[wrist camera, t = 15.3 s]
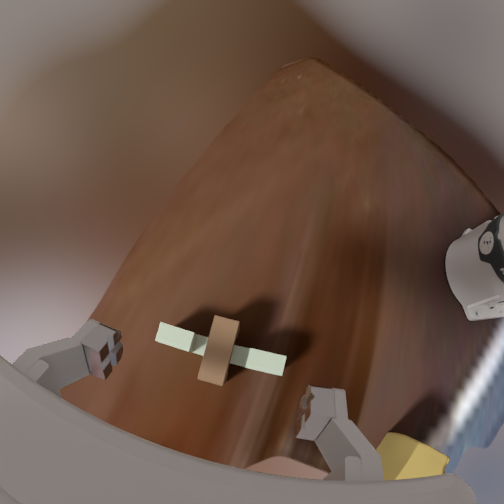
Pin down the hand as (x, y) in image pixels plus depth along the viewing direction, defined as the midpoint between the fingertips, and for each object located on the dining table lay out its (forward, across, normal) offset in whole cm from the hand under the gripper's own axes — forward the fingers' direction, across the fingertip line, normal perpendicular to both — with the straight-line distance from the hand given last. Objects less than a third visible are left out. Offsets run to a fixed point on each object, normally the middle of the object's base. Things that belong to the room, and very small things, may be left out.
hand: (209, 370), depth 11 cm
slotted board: (+22, +2, +20) cm, 30 cm away
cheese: (+12, -28, +30) cm, 43 cm away
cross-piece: (+22, +2, +20) cm, 30 cm away
